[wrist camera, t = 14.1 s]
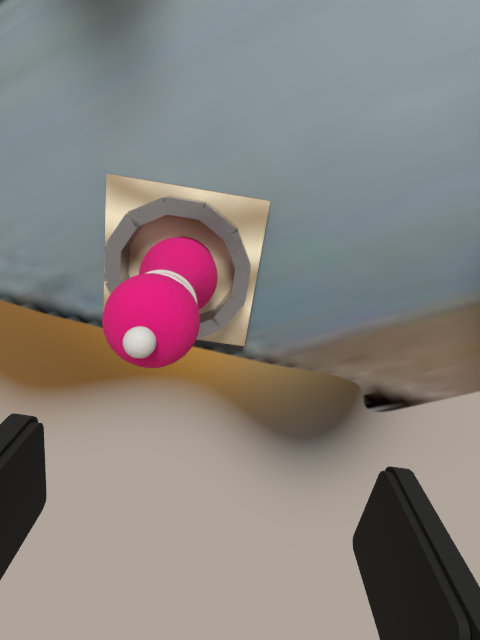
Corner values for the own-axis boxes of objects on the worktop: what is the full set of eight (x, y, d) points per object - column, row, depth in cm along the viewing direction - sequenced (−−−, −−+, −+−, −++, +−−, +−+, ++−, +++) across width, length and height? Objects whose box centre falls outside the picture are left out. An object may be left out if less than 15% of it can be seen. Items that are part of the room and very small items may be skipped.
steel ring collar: (116, 186, 34) (106, 187, 32) (258, 210, 35) (260, 212, 33) (112, 319, 39) (103, 330, 37) (237, 337, 40) (237, 348, 38)
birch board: (111, 174, 35) (106, 174, 34) (268, 200, 37) (270, 201, 35) (107, 321, 41) (103, 326, 40) (243, 340, 42) (244, 346, 41)
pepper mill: (141, 283, 38) (50, 379, 19) (164, 219, 36) (87, 258, 17) (203, 309, 39) (175, 424, 20) (230, 249, 37) (226, 317, 18)
